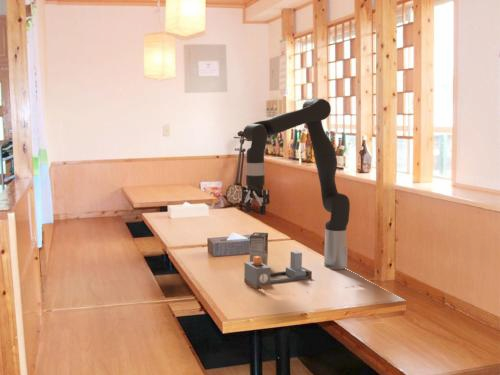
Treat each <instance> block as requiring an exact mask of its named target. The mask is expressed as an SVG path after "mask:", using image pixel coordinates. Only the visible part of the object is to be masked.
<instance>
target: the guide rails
mask: <svg viewBox="0 0 500 375" xmlns="http://www.w3.org/2000/svg"><path fill="white" fill-rule="evenodd" d="M278 275H286V270H283V271H276V272H275V271H274V272H270V276H278ZM306 279H308V280H310V279H309V276H300V277H291V278H282V279H274V280H270V284H269V285H271V283H274V284H280V282H282V283H289V281H291V282H298V281H297V280H300V281H307V280H306Z"/></svg>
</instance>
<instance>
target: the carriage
mask: <svg viewBox="0 0 500 375" xmlns="http://www.w3.org/2000/svg"><path fill="white" fill-rule="evenodd" d="M289 261H290V262H289V264H290V265H289V266H286V267H285V271H286V275H288V276H290V277H300V276H306V270H303V269H302V267H303V266H302V263H303V253H302V252H301V251H298V250H291V251H290V260H289Z"/></svg>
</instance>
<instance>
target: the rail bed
mask: <svg viewBox="0 0 500 375" xmlns="http://www.w3.org/2000/svg"><path fill="white" fill-rule="evenodd" d="M302 269H303V270H306V276H309V279H306V280H305V281H308V280H313V279H312V277H313V276H312V273H313V271H311V270H309V269H307V268H305V267H303V266H302ZM282 278H291V277H290V276H288V275H278V276H270V280H274V279H282ZM243 280H244V281H243V282H244V283H245V282H246V284H247V285H249V286H251V287H252V288H254V289H255V288H256V289H255V290H260V289H261V290H262V289H263V287H262V286H261V285H255V284H253V283H251V282H250V281H248V280H246V279H245V278H244V279H243ZM298 281H301V280H297V281H296V282H298ZM289 282H292V281H289ZM289 282H288V283H289ZM280 283H281V284H283V282H280ZM280 283H279V284H280ZM271 284H273V285H274V284H275V283H271ZM271 284H270V285H271ZM265 285H266V284H264V285H263V286H265Z"/></svg>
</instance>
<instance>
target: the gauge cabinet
mask: <svg viewBox="0 0 500 375" xmlns="http://www.w3.org/2000/svg"><path fill="white" fill-rule="evenodd" d="M271 269H272V268H271V266H269V265H268V264H267V265H265V264H263V263H262V264H261V265H253V262H250V261H249V262H248V261H246V262H244V272H243V273H244V278H245V279H246V280H248V281H250V282H251V283H253V284H255V285H258V286H265V285H271V284H270V273H271ZM264 284H265V285H264Z"/></svg>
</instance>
